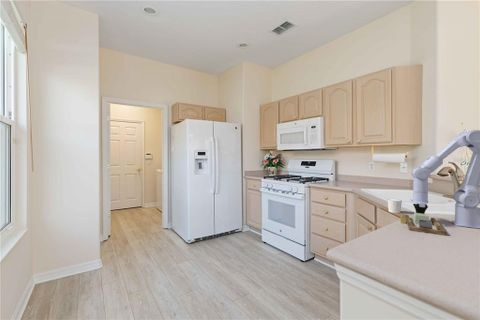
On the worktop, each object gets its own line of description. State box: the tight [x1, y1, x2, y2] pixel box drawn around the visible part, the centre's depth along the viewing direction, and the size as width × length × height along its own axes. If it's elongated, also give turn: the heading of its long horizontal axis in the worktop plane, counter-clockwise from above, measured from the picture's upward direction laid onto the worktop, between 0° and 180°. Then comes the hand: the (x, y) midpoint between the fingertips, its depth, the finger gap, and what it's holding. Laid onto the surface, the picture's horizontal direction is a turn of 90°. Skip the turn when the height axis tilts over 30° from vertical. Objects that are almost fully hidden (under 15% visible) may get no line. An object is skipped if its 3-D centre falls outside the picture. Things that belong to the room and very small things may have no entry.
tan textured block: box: [399, 213, 407, 225], centre depth 110 cm, size 2×3×4 cm, turn 148°
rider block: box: [413, 212, 430, 225], centre depth 109 cm, size 5×5×4 cm
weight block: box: [418, 220, 433, 229], centre depth 99 cm, size 4×4×4 cm
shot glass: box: [387, 198, 403, 214], centre depth 130 cm, size 7×7×7 cm
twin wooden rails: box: [405, 214, 447, 236], centre depth 105 cm, size 12×24×2 cm, turn 148°
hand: (420, 218), depth 113 cm, fingers closed
